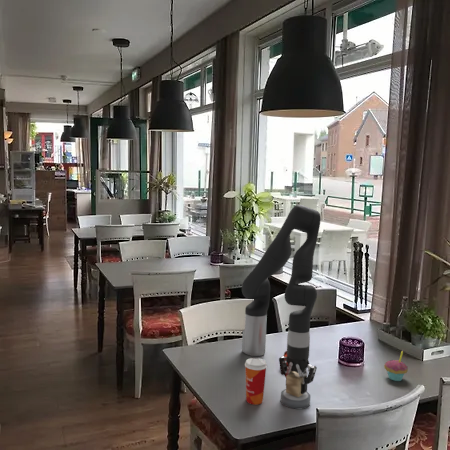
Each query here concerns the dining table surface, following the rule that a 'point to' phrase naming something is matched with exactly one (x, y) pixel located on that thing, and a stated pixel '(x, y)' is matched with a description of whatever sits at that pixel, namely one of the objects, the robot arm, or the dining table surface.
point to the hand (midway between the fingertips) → (296, 390)
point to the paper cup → (255, 380)
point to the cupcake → (396, 369)
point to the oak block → (293, 384)
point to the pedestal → (295, 400)
